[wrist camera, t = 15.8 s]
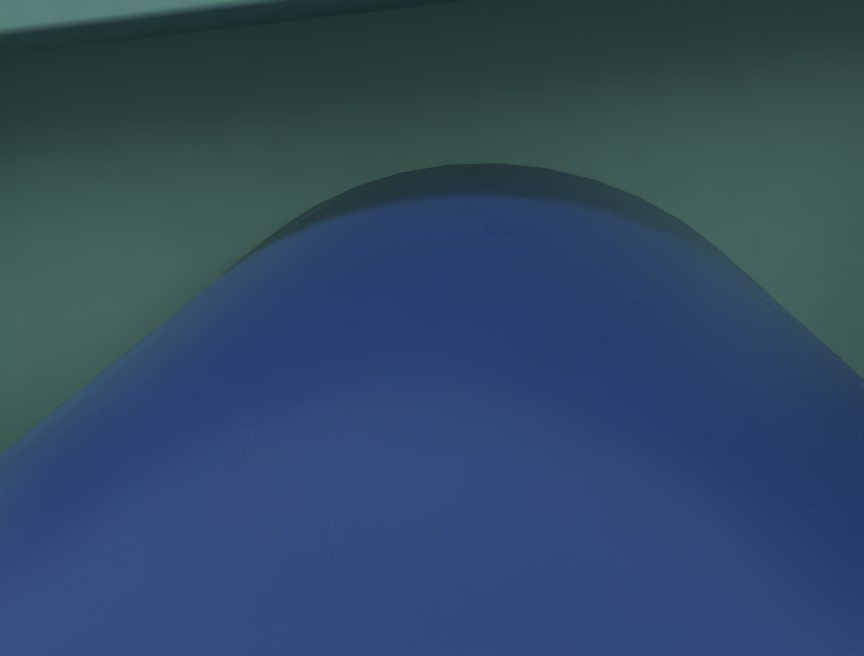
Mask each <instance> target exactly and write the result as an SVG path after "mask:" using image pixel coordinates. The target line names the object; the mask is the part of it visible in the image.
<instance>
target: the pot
mask: <svg viewBox="0 0 864 656" xmlns="http://www.w3.org/2000/svg"><path fill="white" fill-rule="evenodd" d="M0 656H864V379H863V378H862V377H861V376H860V375H859V374H857V373H856V372H855V371H854V370H853V369H852V368H851V367H850V366H849V365H847V364H846V363H845V362H844V361H843V360H842V359H841V358H840V357H839V356H837V355H836V354H835V353H834V352H833V351H832V350H831V349H830V348H829V347H827V346H826V345H825V344H824V343H823V342H822V341H821V340H820V339H819V338H817V337H816V336H815V335H814V334H813V333H812V332H811V331H810V330H809V329H807V328H806V327H805V326H804V325H803V324H802V323H801V322H800V321H799V320H797V319H796V318H795V317H794V316H793V315H792V314H791V313H790V312H789V311H787V310H786V309H785V308H784V307H783V306H782V305H781V304H780V303H779V302H777V301H776V300H775V299H774V298H773V297H772V296H771V295H770V294H768V293H767V292H766V291H765V290H764V289H763V288H762V287H761V286H760V285H758V284H757V283H756V282H755V281H754V280H753V279H752V278H751V277H750V276H748V275H747V274H746V273H745V272H744V271H743V270H742V269H741V268H740V267H738V266H737V265H736V264H735V263H734V262H733V261H732V260H731V259H730V258H728V257H727V256H726V255H725V254H724V253H723V252H722V251H721V250H720V249H718V248H717V247H716V246H714V245H713V244H712V243H711V242H709V241H708V240H707V239H705V238H704V237H703V236H701V235H700V234H699V233H697V232H696V231H695V230H693V229H692V228H691V227H689V226H688V225H687V224H685V223H684V222H683V221H681V220H680V219H678V218H676V217H674V216H673V215H671V214H669V213H667V212H665V211H664V210H662V209H660V208H658V207H656V206H655V205H653V204H651V203H649V202H647V201H646V200H644V199H642V198H640V197H638V196H635V195H633V194H630V193H627V192H625V191H622V190H620V189H617V188H615V187H612V186H609V185H607V184H604V183H602V182H599V181H596V180H594V179H589V178H585V177H581V176H577V175H573V174H569V173H564V172H560V171H556V170H552V169H548V168H540V167H530V166H520V165H510V164H500V163H488V164H455V165H444V166H438V167H432V168H426V169H420V170H414V171H408V172H402V173H398V174H395V175H392V176H388V177H385V178H382V179H379V180H375V181H372V182H369V183H366V184H362V185H359V186H356V187H354V188H352V189H350V190H347V191H345V192H343V193H341V194H339V195H337V196H335V197H332V198H330V199H328V200H326V201H324V202H322V203H319V204H317V205H315V206H314V207H312V208H311V209H309V210H307V211H306V212H304V213H303V214H301V215H300V216H298V217H297V218H295V219H294V220H292V221H290V222H289V223H287V224H286V225H284V226H283V227H281V228H280V229H278V230H277V231H276V232H274V233H273V234H272V235H271V236H269V237H268V238H267V239H266V240H264V241H263V242H262V243H261V244H259V245H258V246H257V247H256V248H254V249H253V250H252V251H251V252H249V253H248V254H247V255H246V256H245V257H243V258H242V259H241V260H240V261H238V262H237V263H236V264H235V265H233V266H232V267H231V268H230V269H228V270H227V271H226V272H225V273H223V274H222V275H221V276H220V277H218V278H217V279H216V280H215V281H213V282H212V283H211V284H210V285H208V286H207V287H206V288H205V289H204V290H202V291H201V292H200V293H199V294H197V295H196V296H195V297H194V298H192V299H191V300H190V301H189V302H187V303H186V304H185V305H184V306H182V307H181V308H180V309H179V310H177V311H176V312H175V313H174V314H172V315H171V316H170V317H169V318H167V319H166V320H165V321H164V322H163V323H161V324H160V325H159V326H158V327H156V328H155V329H154V330H153V331H151V332H150V333H149V334H148V335H146V336H145V337H144V338H143V339H141V340H140V341H139V342H138V343H136V344H135V345H134V346H133V347H131V348H130V349H129V350H128V351H126V352H125V353H124V354H123V355H122V356H120V357H119V358H118V359H117V360H115V361H114V362H113V363H112V364H110V365H109V366H108V367H107V368H105V369H104V370H103V371H102V372H100V373H99V374H98V375H97V376H95V377H94V378H93V379H92V380H90V381H89V382H88V383H87V384H85V385H84V386H83V387H82V388H81V389H79V390H78V391H77V392H76V393H74V394H73V395H72V396H71V397H69V398H68V399H67V400H66V401H64V402H63V403H62V404H61V405H59V406H58V407H57V408H56V409H54V410H53V411H52V412H51V413H49V414H48V415H47V416H46V417H44V418H43V419H42V420H41V421H39V422H38V423H37V424H36V425H35V426H33V427H32V428H31V429H30V430H28V431H27V432H26V433H25V434H23V435H22V436H21V437H20V438H18V439H17V440H16V441H15V442H13V443H12V444H11V445H10V446H8V447H7V448H6V449H5V450H3V451H2V452H1V453H0Z"/></svg>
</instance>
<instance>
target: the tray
mask: <svg viewBox="0 0 864 656" xmlns="http://www.w3.org/2000/svg"><path fill="white" fill-rule="evenodd" d="M488 163H500V164H510V165H520V166H530V167H540V168H548V169H552V170H556V171H560V172H564V173H569V174H573V175H577V176H581V177H585V178H589V179H594V180H596V181H599V182H602V183H604V184H607V185H609V186H612V187H615V188H617V189H620V190H622V191H625V192H627V193H630V194H633V195H635V196H638V197H640V198H642V199H644V200H646V201H647V202H649V203H651V204H653V205H655V206H656V207H658V208H660V209H662V210H664V211H665V212H667V213H669V214H671V215H673V216H674V217H676V218H678V219H680V220H681V221H683V222H684V223H685V224H687V225H688V226H689V227H691V228H692V229H693V230H695V231H696V232H697V233H699V234H700V235H701V236H703V237H704V238H705V239H707V240H708V241H709V242H711V243H712V244H713V245H714V246H716V247H717V248H718V249H720V250H721V251H722V252H723V253H724V254H725V255H726V256H727V257H728V258H730V259H731V260H732V261H733V262H734V263H735V264H736V265H737V266H738V267H740V268H741V269H742V270H743V271H744V272H745V273H746V274H747V275H748V276H750V277H751V278H752V279H753V280H754V281H755V282H756V283H757V284H758V285H760V286H761V287H762V288H763V289H764V290H765V291H766V292H767V293H768V294H770V295H771V296H772V297H773V298H774V299H775V300H776V301H777V302H779V303H780V304H781V305H782V306H783V307H784V308H785V309H786V310H787V311H789V312H790V313H791V314H792V315H793V316H794V317H795V318H796V319H797V320H799V321H800V322H801V323H802V324H803V325H804V326H805V327H806V328H807V329H809V330H810V331H811V332H812V333H813V334H814V335H815V336H816V337H817V338H819V339H820V340H821V341H822V342H823V343H824V344H825V345H826V346H827V347H829V348H830V349H831V350H832V351H833V352H834V353H835V354H836V355H837V356H839V357H840V358H841V359H842V360H843V361H844V362H845V363H846V364H847V365H849V366H850V367H851V368H852V369H853V370H854V371H855V372H856V373H857V374H859V375H860V376H861V377H862V378H863V379H864V0H0V453H1V452H2V451H3V450H5V449H6V448H7V447H8V446H10V445H11V444H12V443H13V442H15V441H16V440H17V439H18V438H20V437H21V436H22V435H23V434H25V433H26V432H27V431H28V430H30V429H31V428H32V427H33V426H35V425H36V424H37V423H38V422H39V421H41V420H42V419H43V418H44V417H46V416H47V415H48V414H49V413H51V412H52V411H53V410H54V409H56V408H57V407H58V406H59V405H61V404H62V403H63V402H64V401H66V400H67V399H68V398H69V397H71V396H72V395H73V394H74V393H76V392H77V391H78V390H79V389H81V388H82V387H83V386H84V385H85V384H87V383H88V382H89V381H90V380H92V379H93V378H94V377H95V376H97V375H98V374H99V373H100V372H102V371H103V370H104V369H105V368H107V367H108V366H109V365H110V364H112V363H113V362H114V361H115V360H117V359H118V358H119V357H120V356H122V355H123V354H124V353H125V352H126V351H128V350H129V349H130V348H131V347H133V346H134V345H135V344H136V343H138V342H139V341H140V340H141V339H143V338H144V337H145V336H146V335H148V334H149V333H150V332H151V331H153V330H154V329H155V328H156V327H158V326H159V325H160V324H161V323H163V322H164V321H165V320H166V319H167V318H169V317H170V316H171V315H172V314H174V313H175V312H176V311H177V310H179V309H180V308H181V307H182V306H184V305H185V304H186V303H187V302H189V301H190V300H191V299H192V298H194V297H195V296H196V295H197V294H199V293H200V292H201V291H202V290H204V289H205V288H206V287H207V286H208V285H210V284H211V283H212V282H213V281H215V280H216V279H217V278H218V277H220V276H221V275H222V274H223V273H225V272H226V271H227V270H228V269H230V268H231V267H232V266H233V265H235V264H236V263H237V262H238V261H240V260H241V259H242V258H243V257H245V256H246V255H247V254H248V253H249V252H251V251H252V250H253V249H254V248H256V247H257V246H258V245H259V244H261V243H262V242H263V241H264V240H266V239H267V238H268V237H269V236H271V235H272V234H273V233H274V232H276V231H277V230H278V229H280V228H281V227H283V226H284V225H286V224H287V223H289V222H290V221H292V220H294V219H295V218H297V217H298V216H300V215H301V214H303V213H304V212H306V211H307V210H309V209H311V208H312V207H314V206H315V205H317V204H319V203H322V202H324V201H326V200H328V199H330V198H332V197H335V196H337V195H339V194H341V193H343V192H345V191H347V190H350V189H352V188H354V187H356V186H359V185H362V184H366V183H369V182H372V181H375V180H379V179H382V178H385V177H388V176H392V175H395V174H398V173H402V172H408V171H414V170H420V169H426V168H432V167H438V166H444V165H455V164H488Z"/></svg>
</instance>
